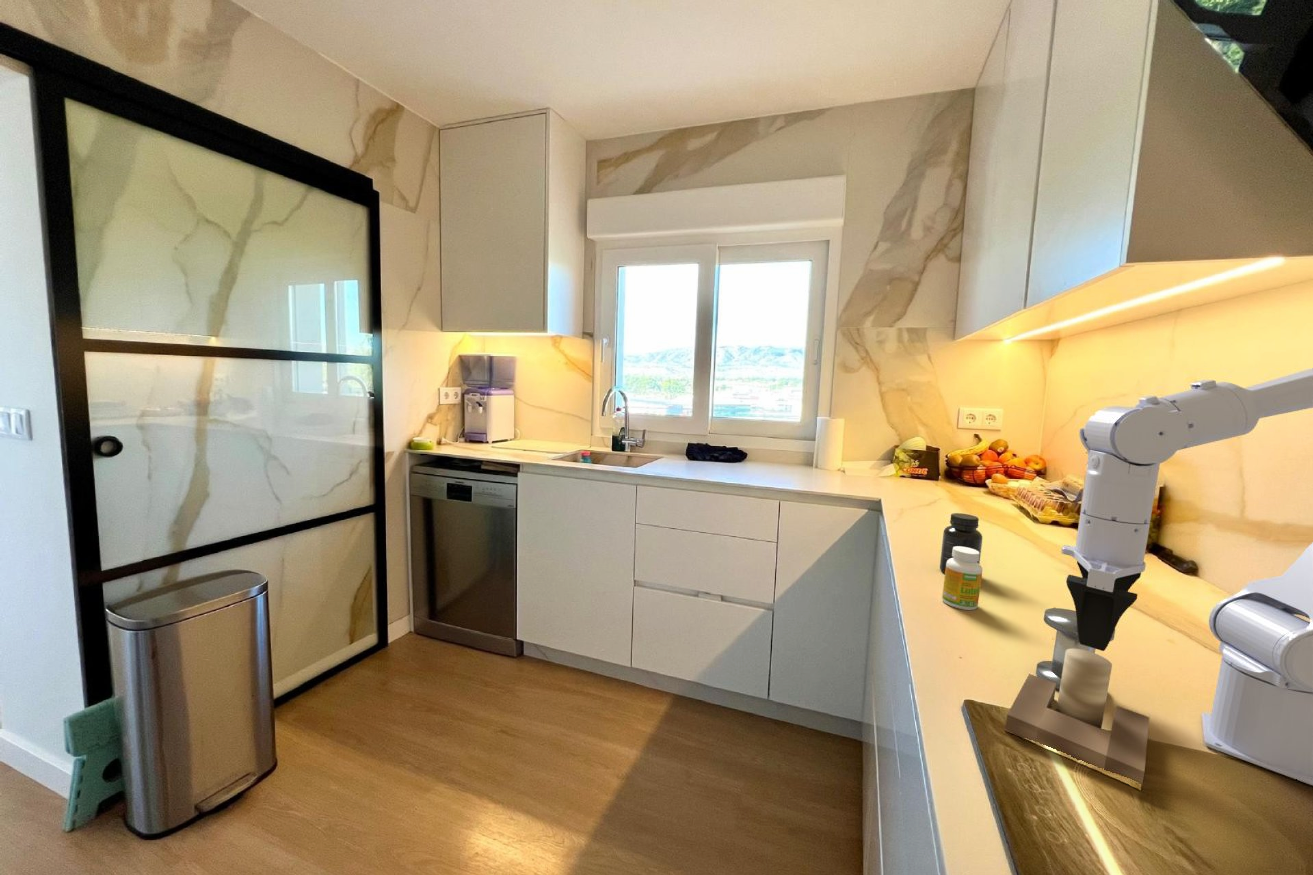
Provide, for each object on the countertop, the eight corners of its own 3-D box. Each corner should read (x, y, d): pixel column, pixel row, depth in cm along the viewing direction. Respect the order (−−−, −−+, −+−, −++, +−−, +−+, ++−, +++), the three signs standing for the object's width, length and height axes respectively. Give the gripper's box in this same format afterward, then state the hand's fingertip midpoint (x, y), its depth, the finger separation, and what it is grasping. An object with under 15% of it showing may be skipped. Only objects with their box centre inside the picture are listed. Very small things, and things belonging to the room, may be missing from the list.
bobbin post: (1107, 684, 67) (1117, 622, 66) (1101, 707, 62) (1112, 640, 61) (1040, 661, 72) (1049, 603, 71) (1031, 680, 67) (1040, 618, 66)
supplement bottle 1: (945, 565, 110) (952, 509, 109) (982, 575, 105) (990, 517, 104) (933, 572, 105) (940, 514, 104) (971, 583, 101) (979, 522, 99)
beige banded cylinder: (1102, 725, 59) (1113, 659, 58) (1098, 741, 56) (1110, 672, 55) (1058, 708, 62) (1068, 644, 61) (1052, 723, 59) (1062, 656, 58)
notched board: (1146, 733, 58) (1149, 717, 58) (1141, 790, 49) (1144, 771, 49) (1027, 688, 65) (1029, 673, 65) (1004, 731, 57) (1007, 714, 57)
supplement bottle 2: (959, 611, 87) (966, 556, 86) (934, 598, 92) (940, 545, 91) (985, 609, 89) (992, 554, 87) (959, 596, 94) (965, 544, 93)
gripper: (1076, 500, 65) (1060, 604, 66) (1058, 519, 54) (1040, 642, 56) (1154, 512, 60) (1135, 624, 61) (1151, 536, 49) (1128, 670, 51)
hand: (1095, 634), depth 58 cm, fingers open, 7 cm apart
